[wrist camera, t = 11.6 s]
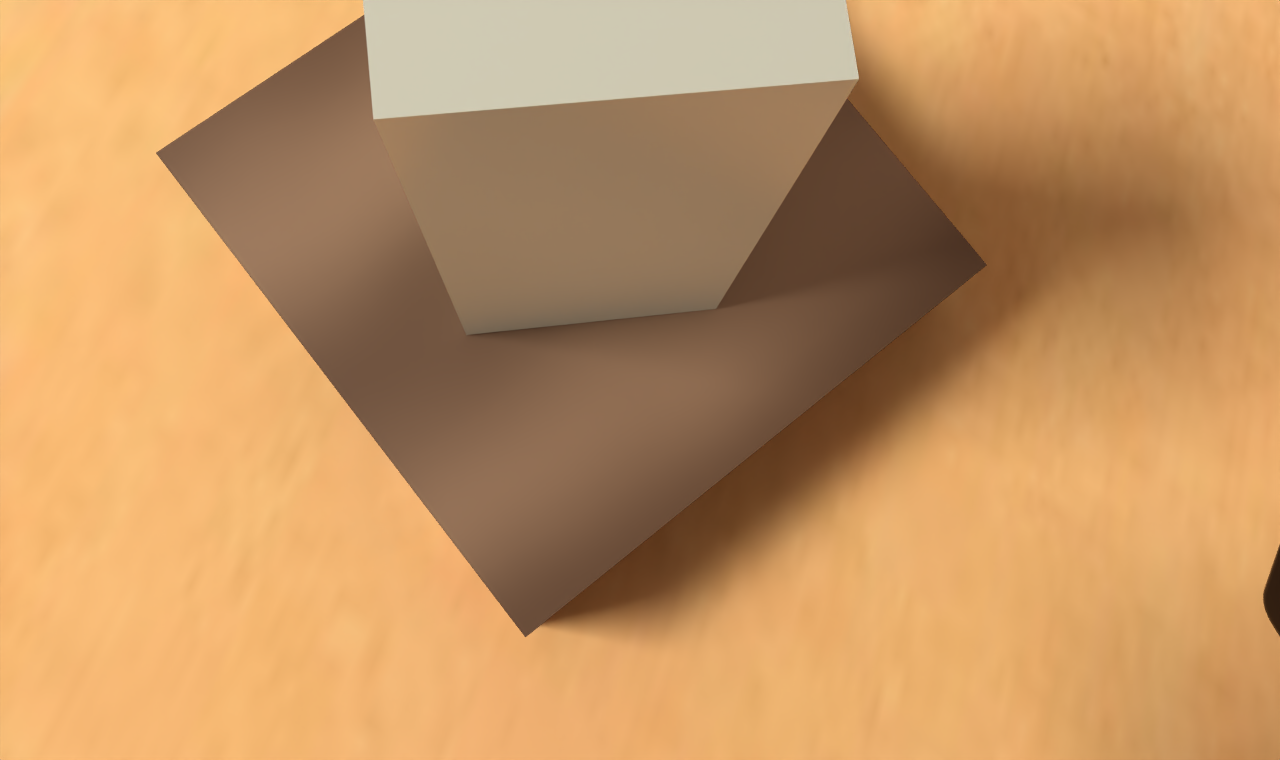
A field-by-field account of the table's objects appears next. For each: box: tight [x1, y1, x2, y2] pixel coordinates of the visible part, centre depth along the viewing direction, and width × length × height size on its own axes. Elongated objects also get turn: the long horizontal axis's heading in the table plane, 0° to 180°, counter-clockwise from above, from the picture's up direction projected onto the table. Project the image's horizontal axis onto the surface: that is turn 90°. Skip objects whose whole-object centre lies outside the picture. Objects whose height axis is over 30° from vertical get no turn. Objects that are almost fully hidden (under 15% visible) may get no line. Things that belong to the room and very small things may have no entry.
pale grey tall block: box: [363, 0, 859, 335], centre depth 16 cm, size 5×5×10 cm
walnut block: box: [156, 15, 986, 637], centre depth 22 cm, size 12×12×4 cm
